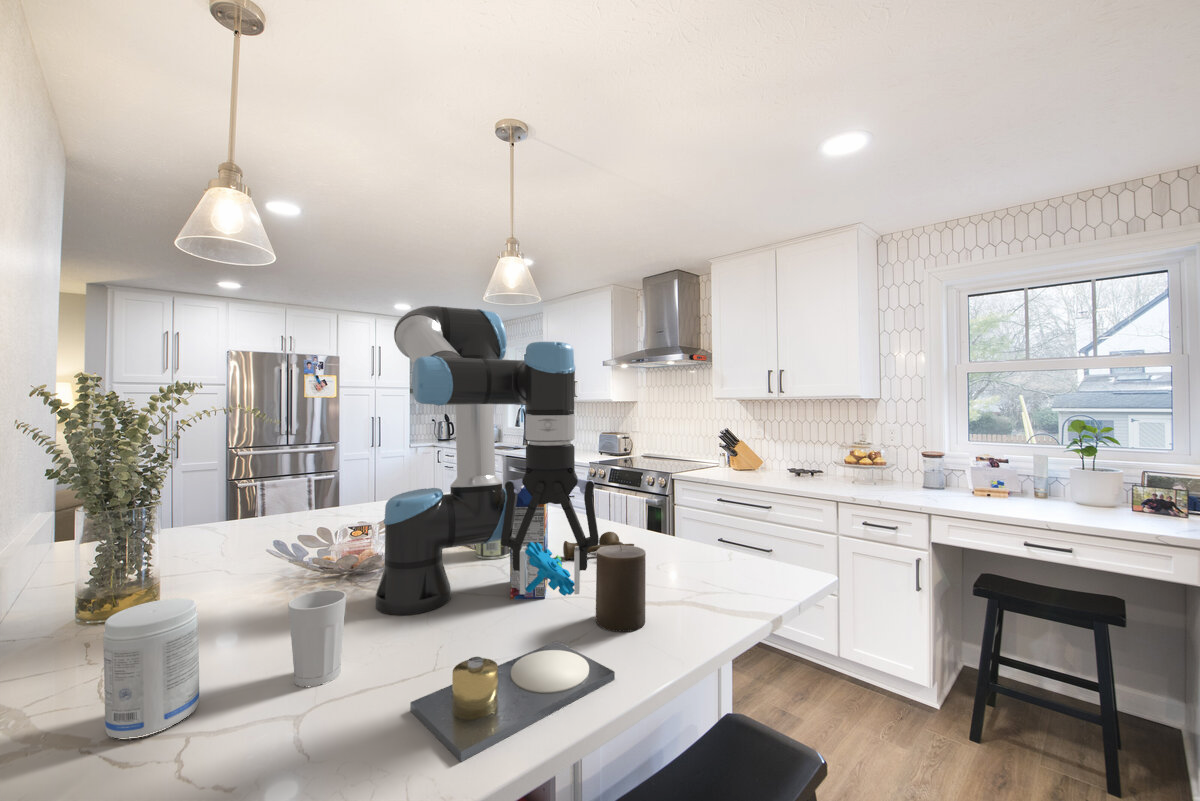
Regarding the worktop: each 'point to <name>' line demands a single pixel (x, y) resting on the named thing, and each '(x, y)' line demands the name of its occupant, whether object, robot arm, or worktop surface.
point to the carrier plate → (507, 710)
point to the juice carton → (534, 534)
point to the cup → (317, 635)
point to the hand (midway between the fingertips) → (550, 590)
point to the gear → (548, 569)
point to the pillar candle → (620, 587)
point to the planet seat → (549, 671)
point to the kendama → (604, 540)
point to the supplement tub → (150, 667)
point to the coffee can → (492, 550)
